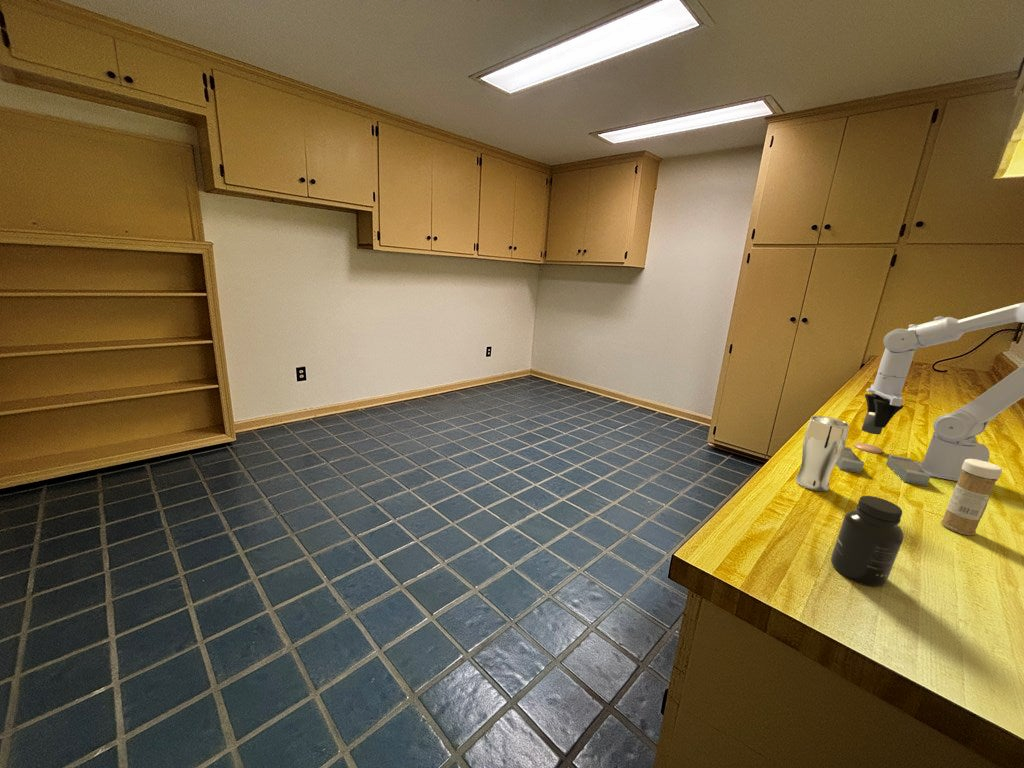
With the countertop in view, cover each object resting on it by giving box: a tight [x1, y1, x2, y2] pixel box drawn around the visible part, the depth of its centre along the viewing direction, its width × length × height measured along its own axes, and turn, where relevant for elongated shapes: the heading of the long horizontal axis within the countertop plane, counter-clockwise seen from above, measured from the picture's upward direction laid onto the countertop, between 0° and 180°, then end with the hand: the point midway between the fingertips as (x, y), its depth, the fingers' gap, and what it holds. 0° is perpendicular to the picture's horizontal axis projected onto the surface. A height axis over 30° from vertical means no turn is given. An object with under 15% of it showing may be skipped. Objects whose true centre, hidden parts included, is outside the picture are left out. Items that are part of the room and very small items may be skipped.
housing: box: [835, 446, 932, 488], centre depth 99 cm, size 16×10×3 cm, turn 67°
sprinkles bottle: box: [940, 459, 1003, 536], centre depth 74 cm, size 5×5×13 cm
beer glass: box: [794, 415, 850, 493], centre depth 88 cm, size 7×7×15 cm
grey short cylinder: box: [861, 412, 883, 435], centre depth 110 cm, size 4×4×5 cm
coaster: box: [853, 442, 883, 454], centre depth 112 cm, size 6×6×1 cm
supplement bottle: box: [830, 495, 905, 587], centre depth 61 cm, size 7×7×12 cm
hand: (875, 423), depth 110 cm, fingers closed on grey short cylinder, 4 cm apart
